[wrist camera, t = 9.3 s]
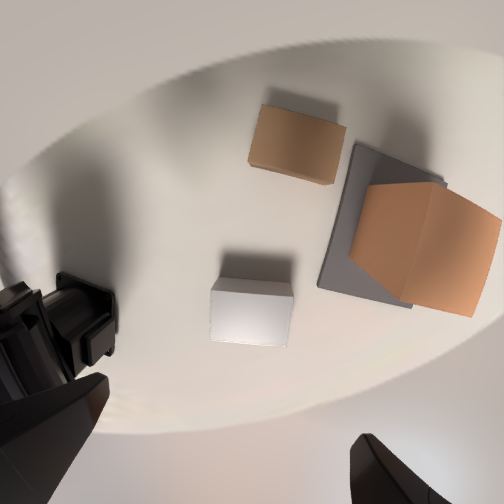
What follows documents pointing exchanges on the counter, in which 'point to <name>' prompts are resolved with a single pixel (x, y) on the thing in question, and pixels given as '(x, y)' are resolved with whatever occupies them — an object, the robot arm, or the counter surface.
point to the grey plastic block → (251, 311)
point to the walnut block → (296, 145)
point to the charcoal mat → (337, 257)
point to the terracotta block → (426, 245)
